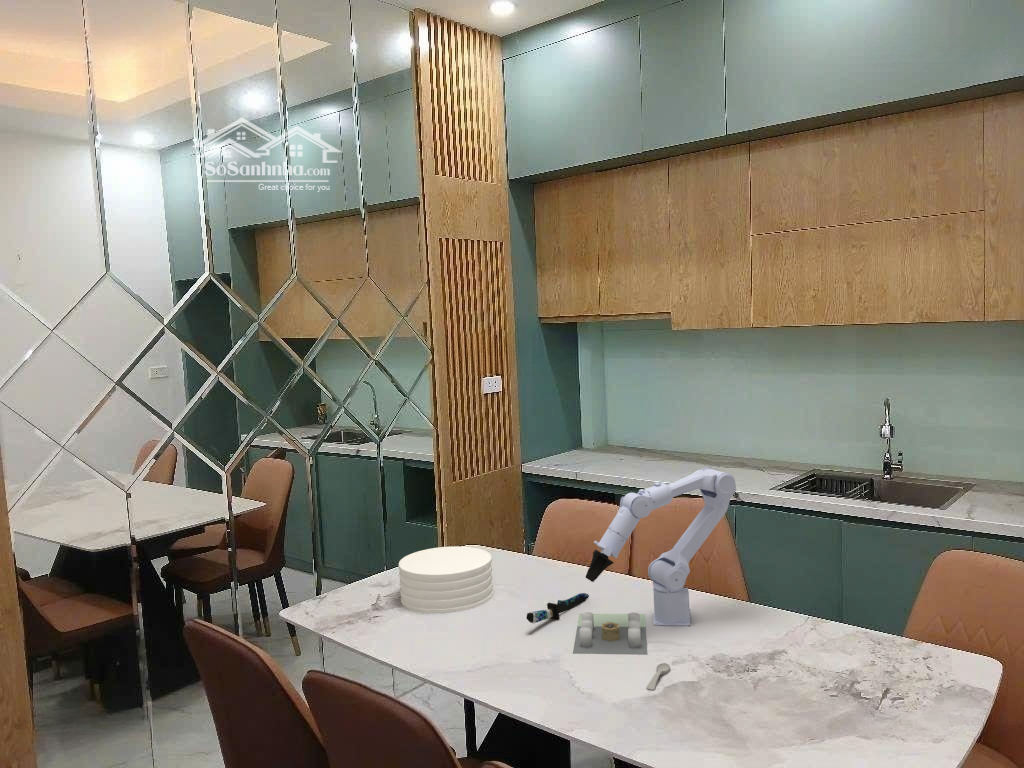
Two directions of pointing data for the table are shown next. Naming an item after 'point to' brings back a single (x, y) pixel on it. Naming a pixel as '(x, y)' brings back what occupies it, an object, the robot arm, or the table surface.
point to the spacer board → (628, 643)
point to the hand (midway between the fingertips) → (589, 579)
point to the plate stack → (446, 579)
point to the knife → (556, 608)
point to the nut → (610, 631)
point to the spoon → (661, 669)
